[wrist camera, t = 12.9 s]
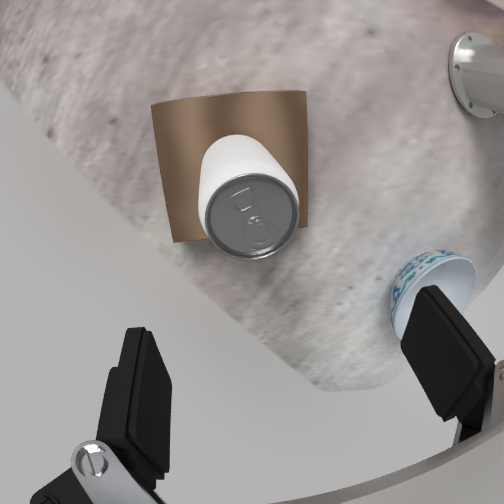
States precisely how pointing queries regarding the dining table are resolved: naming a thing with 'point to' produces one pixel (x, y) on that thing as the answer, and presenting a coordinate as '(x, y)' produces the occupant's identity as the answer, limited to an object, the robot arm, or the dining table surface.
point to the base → (216, 127)
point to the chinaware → (431, 283)
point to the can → (246, 199)
